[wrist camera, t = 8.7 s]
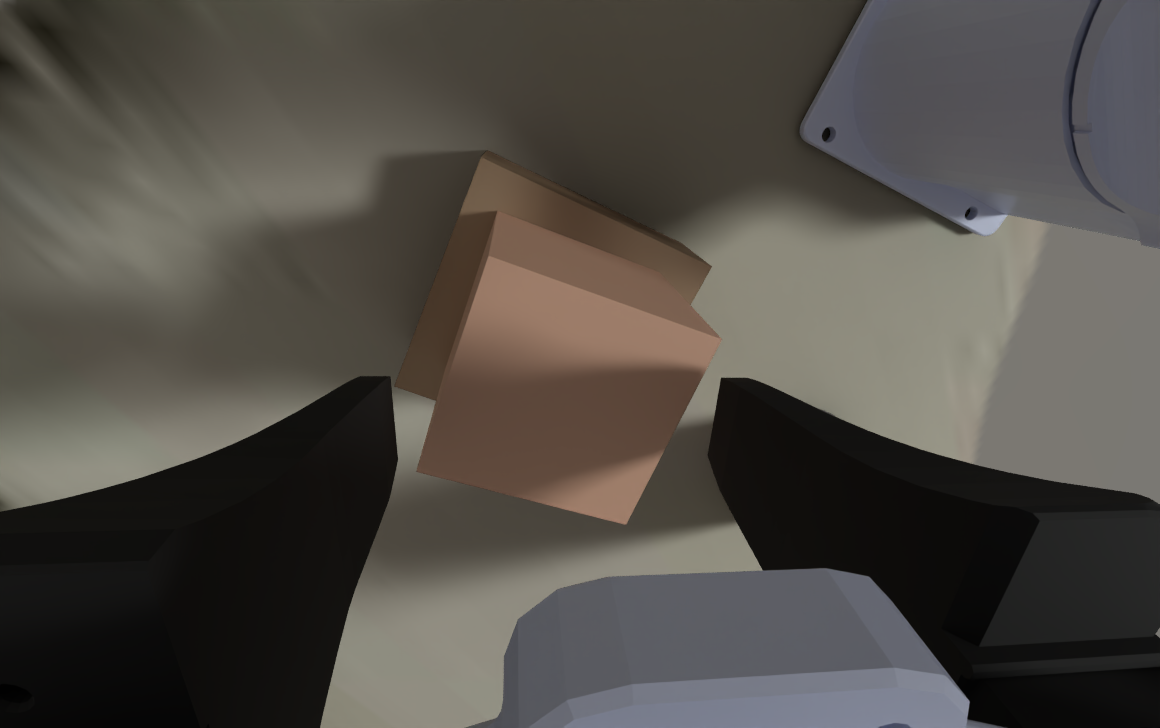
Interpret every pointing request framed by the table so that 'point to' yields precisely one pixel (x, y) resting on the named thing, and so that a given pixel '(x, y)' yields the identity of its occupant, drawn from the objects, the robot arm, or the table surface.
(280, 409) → the table surface
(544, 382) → the terracotta block
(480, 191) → the walnut block
